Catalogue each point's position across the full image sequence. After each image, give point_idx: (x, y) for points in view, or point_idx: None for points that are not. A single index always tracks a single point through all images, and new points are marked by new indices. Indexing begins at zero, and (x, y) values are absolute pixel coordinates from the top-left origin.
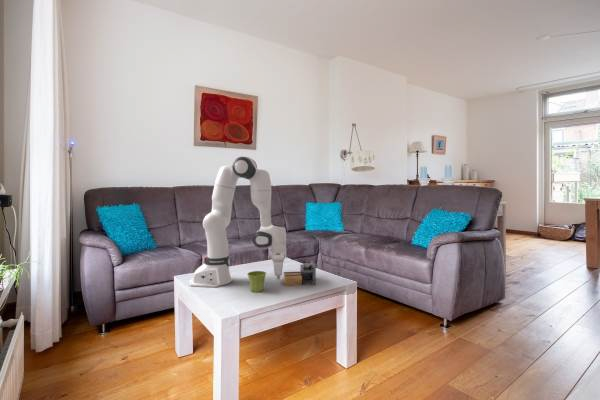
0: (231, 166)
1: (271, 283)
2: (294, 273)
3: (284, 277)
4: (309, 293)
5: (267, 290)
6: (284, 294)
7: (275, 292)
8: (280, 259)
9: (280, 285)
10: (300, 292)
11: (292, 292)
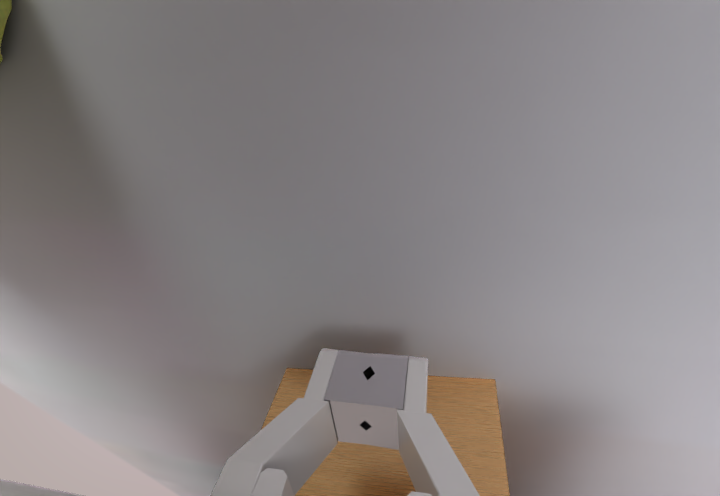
0: None
1: (351, 212)
2: None
3: (342, 457)
4: (135, 466)
5: (10, 157)
6: (15, 333)
7: (10, 259)
8: None
9: (271, 325)
10: (129, 433)
11: (100, 391)
